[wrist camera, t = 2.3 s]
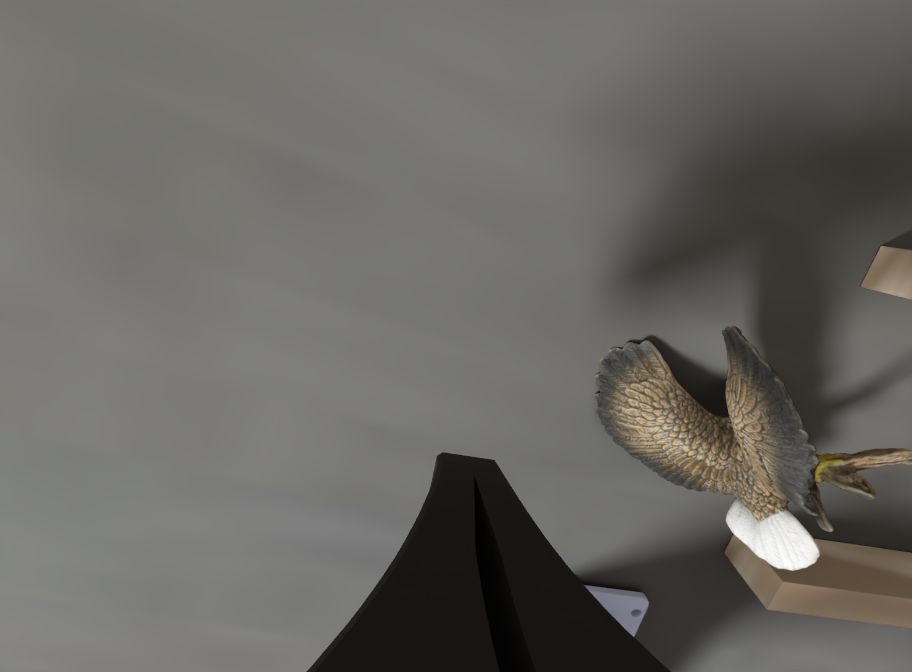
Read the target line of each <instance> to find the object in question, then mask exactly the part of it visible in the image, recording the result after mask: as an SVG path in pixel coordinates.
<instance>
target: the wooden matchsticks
mask: <svg viewBox="0 0 912 672" xmlns="http://www.w3.org/2000/svg"><path fill="white" fill-rule="evenodd" d="M860 287H863V288H867V289H871V290H875V291H879V292H883V293H887V294H891V295H895V296H900V297H904V298H908V299H912V250H906V249H899V248H892V247H885V246H881V247H880V249H879V251H878V253H877V255H876V257H875V259H874V261H873V263H872V265H871V267H870V269H869V271H868V273H867V275H866V277H865V279H864V280H863V282H862V284H861V286H860ZM814 540H815V541H816V543H817V545H818V547H819V550H820V556H819V557H818V559H817V561H816V562H815V563H814V564H812V565H810V566H808V567H806V568H801V569H799V570H794V571H792V570H788V569H779V568H776V567H774V566H772V565H770V564H769V563H768V562H767V561H766V560H764V559H762V558H760V557H758V556H757V555H755V554H754V552H753V551H752V550H751V549H750V548H749V547H748V546H747V545H746V544H745V543H743V542H742V541H741V540H740V539H739V538H738V537H736V536H735V535H734V534H733V536H732V538H731V540H730V542H729V544H728V546H727V548H726V550H725V552H724V554H725V555H726V556H727V558H728V559H729V560H730V562H731V563H732V564H733V566H734V567H735V568H736V570H737V571H738V572H739V574H740V575H741V576H742V577H743V579H744V580H745V581H746V583H747V584H748V585H749V587H750V588H751V589H752V591H753V592H754V593H755V595H756V596H757V597H758V599H759V600H760V601H761V603H762V604H763V605H764V607H765V608H766V609H767V610H773V611H781V612H789V613H797V614H804V615H812V616H820V617H828V618H836V619H844V620H851V621H859V622H867V623H875V624H883V625H891V626H899V627H906V628H912V553H910V552H903V551H896V550H889V549H882V548H876V547H869V546H862V545H855V544H848V543H841V542H834V541H827V540H820V539H814Z"/></svg>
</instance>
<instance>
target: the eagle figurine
mask: <svg viewBox="0 0 912 672" xmlns="http://www.w3.org/2000/svg"><path fill="white" fill-rule="evenodd" d="M722 334H723V336H724V340H725V344H726V349H727V360H728V371H727V381H726V390H725V394H726V403H727V408H728V412H729V417H720V416H717V415H714V414H712V413H710V412H708V411H707V410H705V409H704V408H703V407H702V406H701V405H700V404H699V403H698V402H697V401H696V400H695V399H694V398H693V397H692V396H691V395H690V394H689V393H688V392H687V391H686V390H685V389H684V388H683V387H682V386H681V385H680V384H679V383H678V382H677V380H676V379H675V377H674V375H673V373H672V372H671V370H670V368H669V366H668V365H667V363H666V362H665V361H664V359H663V357H662V356H661V354H660V352H659V351H658V349H657V348H656V347H655V346H654V345H653V344H652V342H650V341H649V340H645V341H643V342H642V343H641V344H636V343H633V342H628V343H626V344H625V346H624V348H623V349H620V348H618V347H615V348H611V349H610V350H609V351H608V356H606V357H602V358H601V359H600V362H599V366H600V373H599V374H596V376H595V383H596V386H597V388H598V389H599V390H600V393H597V394H595V395H594V400H595V401H596V402H597V403H598V405H599V407H597V408H596V413H597V415H598V416H599V419H600V422H601V423H602V424H603V425H604V426H605V431H606V432H607V434H609V435H610V436H611V437H612V438H613V441H614V442H615V443H616V444H617V445H620V446H621V447H623V448H624V450H625V451H626V452H628V453H629V454H630V455H631V456H632V457H634V458H636V459H639V460H641V463H642V464H644V465H646V466H647V467H648V468H649V469H651V470H652V471H654V472H657V473H658V475H659V476H660V477H662V478H664V479H665V480H667V481H671V482H672V483H674V484H675V485H681V486H683V487H685V488H687V489H694V490H696V491H706V490H707V491H708V492H717V491H720V492H721V493H723V494H725V495H728V494H734V495H735V496H736V498H735V499H734V501H733V503H732V505H731V507H730V509H729V510H728V513H727V516H726V522H727V524H728V526H729V528H730V529H731V531H732V532H733V533H734V535H735V536H736V537H738V538H739V539H740V540H741V541H742V542H743V543H745V544H746V545H747V546H748V547H749V548H750V549H751V550H752V551H753V552H754V554H755V555H757V556H758V557H760V558H762V559H764V560H766V561H767V562H768V563H769V564H770V565H772V566H774V567H776V568H779V569H788V570H792V571H794V570H799V569H801V568H806V567H808V566H810V565H812V564H814V563H815V562H816V561H817V559H818V557H819V556H820V550H819V547H818V545H817V543H816V541H815V540H814V538H813V537H812V535H811V534H810V533H809V532H808V530H807V529H806V528H805V527H804V526H803V525H802V524H801V523H800V522H799V520H798V519H797V518H796V517H795V516H793V515H792V513H791V512H790V511H789V509H788V506H787V504H788V502H789V501H790V502H791V503H792V504H794V505H796V506H798V507H800V508H801V509H803V510H804V511H806V512H807V513H809V514H811V515H812V516H813V517H814V519H815V520H816V522H817V523H818V525H819V526H820V527H821V528H822V529H823V530H825V531H828V532H833V530H834V529H833V527H832V525H831V523H830V522H829V521H828V519H827V517H826V514H825V512H824V509H823V506H822V503H821V500H820V490H819V489H818V487H817V485H816V483H820V482H823V481H826V482H828V483H830V484H833V485H835V486H837V487H839V488H841V489H843V490H845V491H848V492H850V493H853V494H855V495H858V496H860V497H863V498H865V499H870V500H872V499H874V498H875V496H876V494H875V491H874V490H873V488H872V486H871V485H870V484H869V482H868V481H867V480H866V479H865V478H864V477H862V476H861V475H859V474H857V473H856V471H860V470H864V469H869V468H874V467H879V466H886V465H895V464H907V465H912V450H909V449H902V448H901V449H896V448H888V449H873V450H865V451H861V452H858V453H854V454H847V453H836V454H828V453H826V454H823V455H818V454H815V452H816V448H815V447H814V445H812V444H811V443H809V442H808V441H807V440H808V439H809V437H810V436H809V434H808V433H807V432H806V431H805V429H804V428H803V421H802V419H801V417H800V416H799V414H798V413H797V410H796V408H795V406H794V403H793V401H792V400H791V398H790V396H789V393H788V391H787V389H786V387H785V385H784V383H783V381H781V380H780V379H779V377H778V376H777V374H776V373H775V371H774V370H773V369H772V367H771V366H770V364H769V363H768V362H767V361H766V360H764V359H763V358H762V357H761V356H760V355H759V353H758V351H757V349H756V348H755V347H754V346H753V345H752V344H750V343H749V342H748V341H747V340H746V338H745V337H744V336H743V335H742V333H741V331H740V330H739V329H738V328H737V327H735V326H732V327H731V328H730V327H726V328H725V330H722Z"/></svg>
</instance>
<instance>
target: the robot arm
mask: <svg viewBox="0 0 912 672" xmlns="http://www.w3.org/2000/svg"><path fill="white" fill-rule="evenodd" d="M648 606H649V602H648V600H647V598H646V596H645V595H644V594H643V593H641V592H634V591H626V590H619V589H611V588H603V587H595V586H587V585H583V583H582V582H581V581H580V580H579V579H578V578H577V577H576V575H575V574H574V573H573V572H572V571H571V570H570V568H569V567H568V566H567V565H566V563H565V562H564V561H563V560H562V558H561V557H560V556H559V554H558V553H557V552H556V551H555V549H554V548H553V547H552V546H551V544H550V543H549V542H548V540H547V539H546V538H545V536H544V535H543V533H542V532H541V531H540V529H539V528H538V526H537V525H536V523H535V522H534V521H533V519H532V518H531V516H530V515H529V513H528V512H527V510H526V509H525V507H524V506H523V504H522V503H521V501H520V500H519V498H518V497H517V495H516V494H515V492H514V490H513V489H512V487H511V486H510V484H509V482H508V481H507V479H506V478H505V476H504V474H503V473H502V471H501V470H500V468H499V466H498V465H497V463H496V462H495V460H490V459H484V458H477V457H470V456H464V455H457V454H450V453H444V452H443V453H441V454H439V455H438V456H437V459H436V463H435V468H434V473H433V478H432V482H431V487H430V491H429V493H428V495H427V498H426V500H425V502H424V504H423V507H422V509H421V511H420V513H419V515H418V517H417V519H416V521H415V523H414V525H413V527H412V529H411V530H410V532H409V534H408V536H407V538H406V540H405V542H404V543H403V545H402V547H401V548H400V550H399V552H398V553H397V555H396V557H395V558H394V560H393V561H392V563H391V564H390V566H389V567H388V569H387V570H386V572H385V574H384V575H383V577H382V578H381V579H380V581H379V582H378V584H377V585H376V586H375V588H374V589H373V591H372V592H371V593H370V595H369V596H368V598H367V599H366V600H365V602H364V603H363V604H362V606H361V607H360V608H359V610H358V611H357V612H356V614H355V615H354V616H353V618H352V619H351V620H350V621H349V623H348V624H347V625H346V626H345V627H344V629H343V630H342V631H341V632H340V633H339V635H338V636H337V637H336V638H335V639H334V640H333V642H332V643H331V644H330V645H329V646H328V648H327V649H326V650H325V651H324V652H323V653H322V655H321V656H320V657H319V658H318V659H317V661H316V662H315V663H314V664H313V665H312V666H311V668H310V669H309V670H308V671H307V672H670V671H669V670H668V669H667V668H666V667H665V666H664V665H663V664H662V663H660V662H659V661H658V660H657V659H656V658H655V657H654V656H653V655H652V654H651V653H650V652H649V651H648V650H647V649H646V648H645V647H643V646H642V645H641V644H640V643H639V642H638V641H637V640H636V639H635V638H634V636H635V634H636V632H637V630H638V628H639V625H640V623H641V621H642V619H643V617H644V615H645V612H646V610H647V608H648Z"/></svg>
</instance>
